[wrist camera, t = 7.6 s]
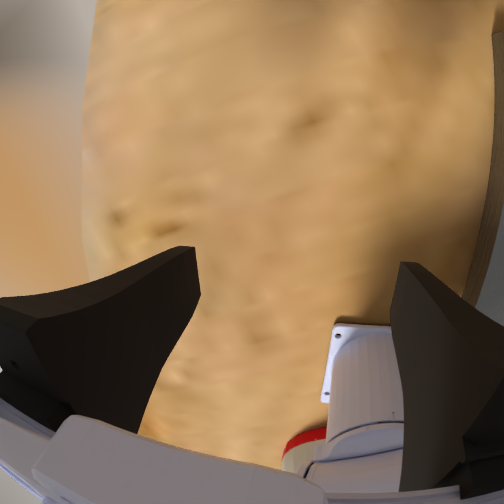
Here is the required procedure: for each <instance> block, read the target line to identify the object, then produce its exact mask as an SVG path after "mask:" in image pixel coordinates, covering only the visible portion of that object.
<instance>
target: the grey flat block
mask: <svg viewBox="0 0 504 504" xmlns="http://www.w3.org/2000/svg"><path fill="white" fill-rule="evenodd" d="M492 44H493V56H494V76H495V114H494V135H493V148H492V158H491V167H490V175H489V183H488V189H487V196H486V202H485V207H484V213H483V218H482V223H481V228H480V232H479V237H478V241H477V245H476V249H475V253H474V257H473V261H472V265H471V269H470V272H469V276H468V279H467V282H466V286H465V289H464V292H463V295H462V299H464V300H465V301H466V302H468V303H469V304H470V305H471V306H473V307H474V308H476V309H477V310H478V311H480V312H481V313H483V314H484V315H486V316H488V317H489V318H491V319H492V320H494V321H495V322H497V323H499V324H500V325H502V326H504V31H501V32H498V33H495V34H492Z"/></svg>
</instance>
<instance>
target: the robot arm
mask: <svg viewBox="0 0 504 504" xmlns="http://www.w3.org/2000/svg"><path fill="white" fill-rule="evenodd" d="M200 296H201V292H200V284H199V276H198V269H197V261H196V252H195V247H189V246H177V247H174V248H171V249H169V250H166V251H164V252H162V253H159V254H157V255H155V256H153V257H151V258H148V259H146V260H144V261H142V262H140V263H138V264H135V265H133V266H131V267H128V268H126V269H124V270H121V271H119V272H117V273H114V274H112V275H109V276H107V277H104V278H101V279H99V280H96V281H93V282H90V283H86V284H83V285H79V286H75V287H71V288H68V289H64V290H60V291H54V292H49V293H43V294H36V295H29V296H17V297H2V298H0V366H1V368H2V370H3V371H2V372H1V373H0V468H1V469H2V470H3V471H5V472H6V473H7V474H8V475H9V476H11V477H12V478H13V479H14V480H16V481H17V482H18V483H20V484H21V485H22V486H23V487H25V488H26V489H27V490H29V491H30V492H32V493H33V494H34V495H36V496H37V497H38V498H40V499H41V500H43V502H42V504H504V326H502V325H500V324H499V323H497V322H495V321H494V320H492V319H491V318H489V317H488V316H486V315H484V314H483V313H481V312H480V311H478V310H477V309H476V308H474V307H473V306H471V305H470V304H469V303H468V302H466V301H465V300H464V299H462V298H461V297H460V296H458V295H457V294H456V293H455V292H453V291H452V290H451V289H450V288H449V287H447V286H446V285H445V284H444V283H443V282H441V281H440V280H439V279H438V278H437V277H435V276H434V275H433V274H432V273H431V272H429V271H428V270H427V269H426V268H424V267H423V266H422V265H420V264H418V263H414V262H401V263H400V268H399V272H398V277H397V282H396V287H395V291H394V295H393V300H392V304H391V308H390V321H391V326H374V325H358V324H344V323H337V324H335V325H334V326H333V329H332V336H331V342H330V348H329V354H328V360H327V366H326V371H325V377H324V382H323V387H322V393H321V398H320V400H321V402H323V403H329V411H328V422H327V432H326V441H325V444H323V445H318V446H316V450H315V457H314V460H308V461H305V462H303V463H302V464H301V465H300V467H299V468H298V469H297V471H296V472H295V473H292V472H287V471H282V470H278V469H274V468H270V467H266V466H262V465H258V464H253V463H247V462H241V461H236V460H231V459H226V458H221V457H216V456H212V455H208V454H203V453H199V452H195V451H191V450H187V449H184V448H180V447H176V446H173V445H169V444H166V443H163V442H159V441H156V440H153V439H150V438H147V437H144V436H141V435H138V434H137V433H138V430H139V427H140V424H141V421H142V418H143V415H144V412H145V409H146V406H147V404H148V401H149V398H150V396H151V393H152V391H153V388H154V386H155V383H156V381H157V379H158V376H159V374H160V372H161V369H162V368H163V366H164V364H165V362H166V360H167V358H168V357H169V355H170V353H171V351H172V350H173V348H174V346H175V345H176V343H177V341H178V340H179V338H180V336H181V335H182V333H183V331H184V330H185V328H186V326H187V325H188V323H189V321H190V319H191V318H192V316H193V313H194V311H195V309H196V306H197V304H198V301H199V298H200ZM336 334H341V335H336Z"/></svg>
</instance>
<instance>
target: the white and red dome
mask: <svg viewBox="0 0 504 504" xmlns="http://www.w3.org/2000/svg"><path fill="white" fill-rule="evenodd" d="M326 432H327V427H323V428H319V429H314V430H310V431H307V432H304V433H302V434H300V435H297V436H295V437H294V438H293V439H292V440H290V441H289V442H288V443H287V445H286V447H285V449H284V453H283V457H282V464H281V470H282V471H287V472H292V473H295V472H296V471H297V469H298V468H299V467H300V465H301V464H302V463H303V462H305V461H308V460H314V457H315V450H316V446H318V445H323V444H325V441H326Z"/></svg>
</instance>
